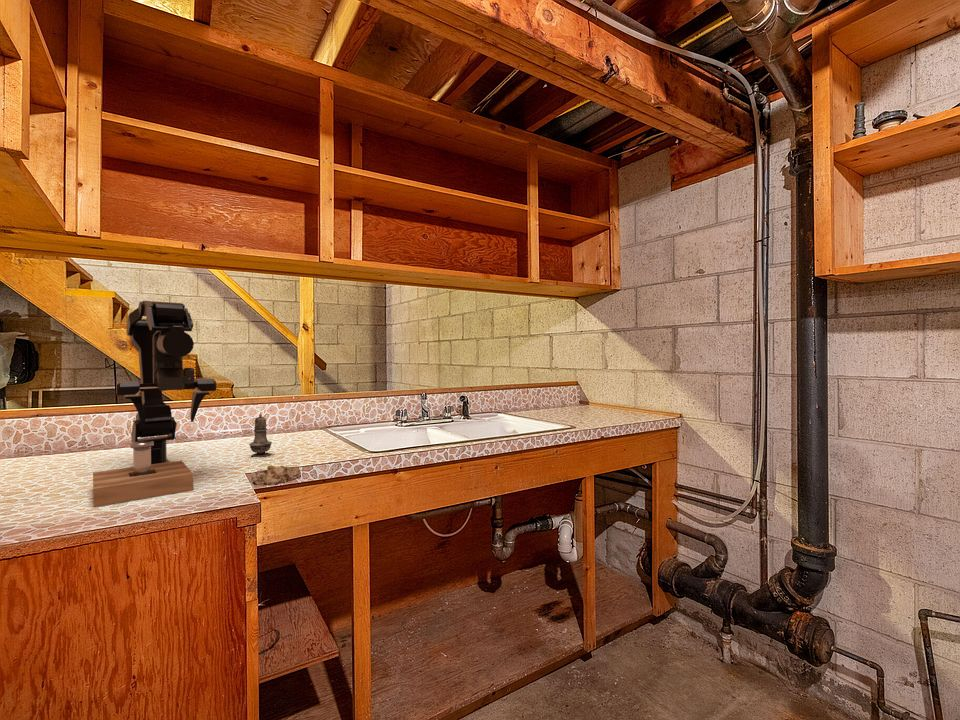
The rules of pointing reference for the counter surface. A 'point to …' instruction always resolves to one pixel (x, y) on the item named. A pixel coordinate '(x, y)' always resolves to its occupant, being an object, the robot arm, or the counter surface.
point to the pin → (142, 457)
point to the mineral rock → (275, 475)
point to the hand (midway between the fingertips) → (168, 423)
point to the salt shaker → (260, 439)
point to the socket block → (140, 483)
